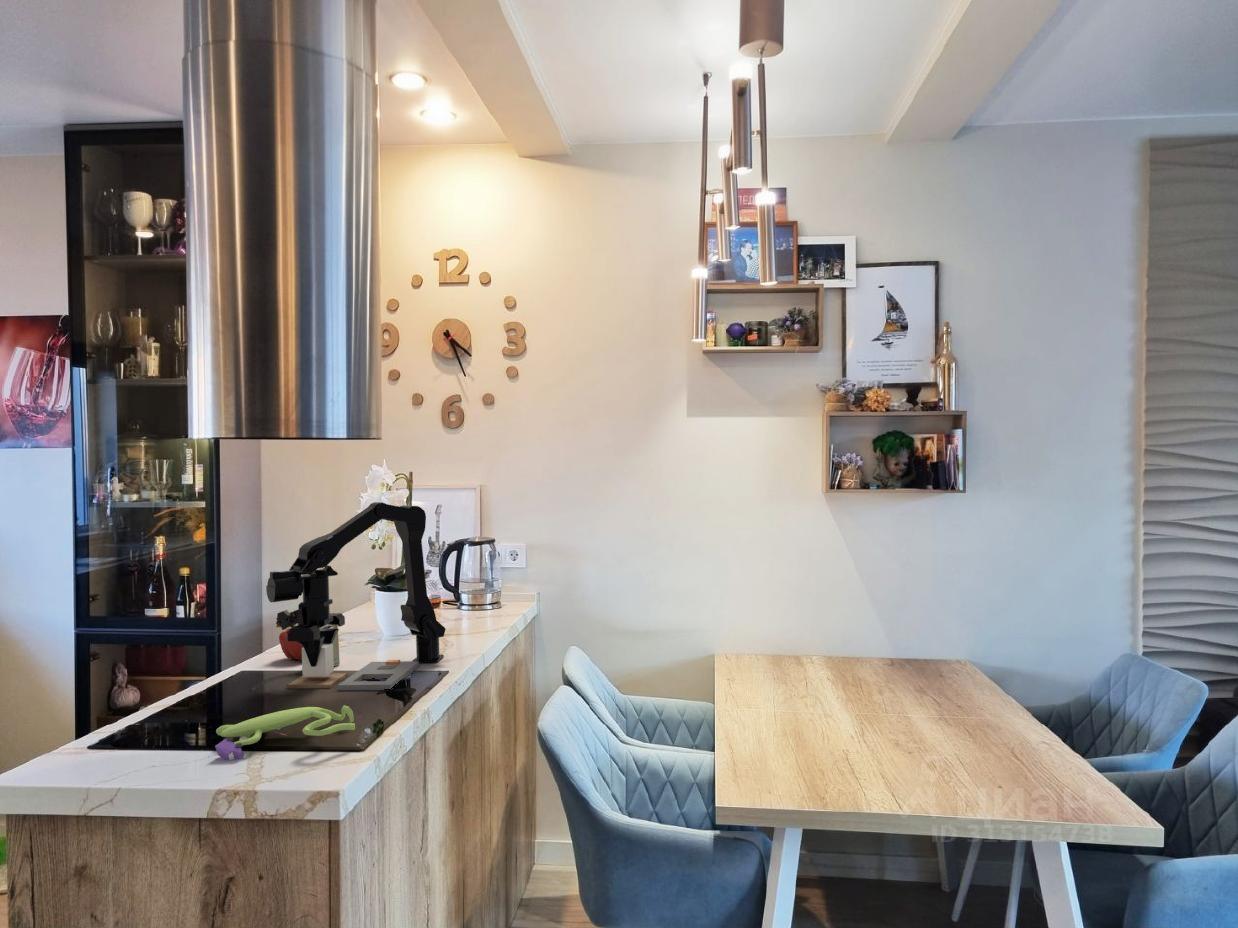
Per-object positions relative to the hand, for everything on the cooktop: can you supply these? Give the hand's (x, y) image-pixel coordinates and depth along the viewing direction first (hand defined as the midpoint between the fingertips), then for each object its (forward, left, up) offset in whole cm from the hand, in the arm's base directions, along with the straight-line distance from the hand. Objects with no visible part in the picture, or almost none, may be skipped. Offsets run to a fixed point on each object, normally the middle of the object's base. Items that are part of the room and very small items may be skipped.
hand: (318, 663), depth 189 cm
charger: (0, 0, -2) cm, 2 cm away
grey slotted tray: (-4, +13, -4) cm, 15 cm away
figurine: (+39, +12, -5) cm, 41 cm away
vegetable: (-23, -15, -4) cm, 28 cm away
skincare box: (-15, -5, -4) cm, 16 cm away
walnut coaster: (0, 0, -4) cm, 4 cm away
